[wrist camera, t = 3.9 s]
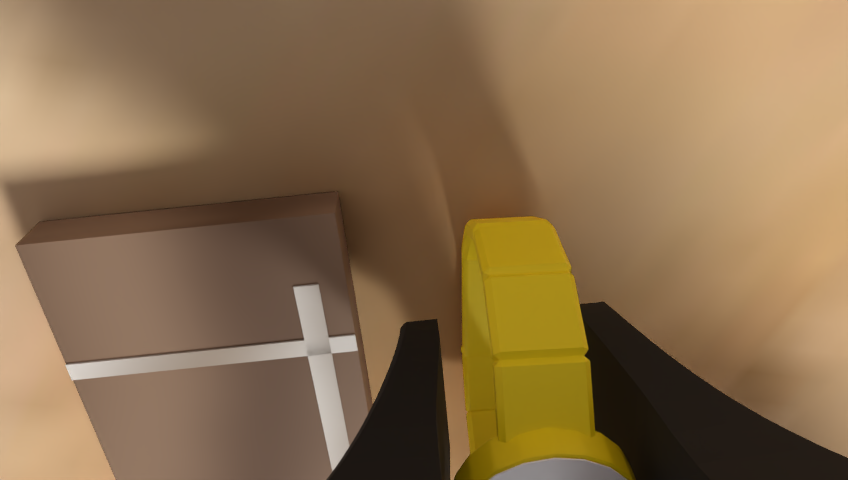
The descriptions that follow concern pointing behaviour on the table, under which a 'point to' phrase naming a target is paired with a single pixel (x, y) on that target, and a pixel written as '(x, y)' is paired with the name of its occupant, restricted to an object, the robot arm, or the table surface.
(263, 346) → the board
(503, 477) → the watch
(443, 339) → the table surface
